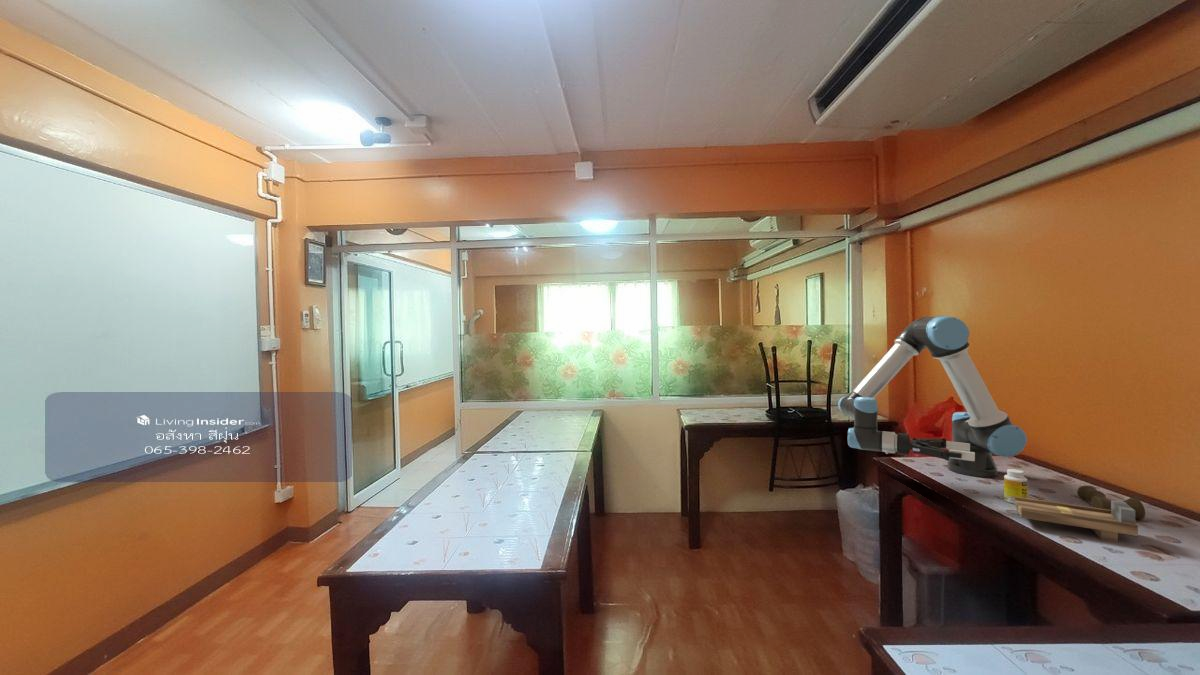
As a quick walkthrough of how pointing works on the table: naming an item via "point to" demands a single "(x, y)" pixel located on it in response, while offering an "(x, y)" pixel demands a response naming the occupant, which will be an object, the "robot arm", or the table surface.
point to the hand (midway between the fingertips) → (972, 452)
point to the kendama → (1102, 502)
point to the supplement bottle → (1014, 485)
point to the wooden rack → (1082, 516)
